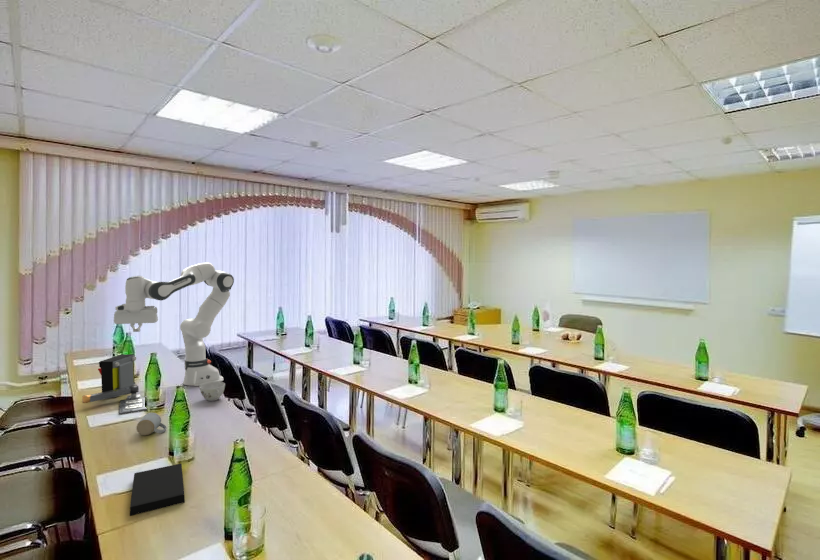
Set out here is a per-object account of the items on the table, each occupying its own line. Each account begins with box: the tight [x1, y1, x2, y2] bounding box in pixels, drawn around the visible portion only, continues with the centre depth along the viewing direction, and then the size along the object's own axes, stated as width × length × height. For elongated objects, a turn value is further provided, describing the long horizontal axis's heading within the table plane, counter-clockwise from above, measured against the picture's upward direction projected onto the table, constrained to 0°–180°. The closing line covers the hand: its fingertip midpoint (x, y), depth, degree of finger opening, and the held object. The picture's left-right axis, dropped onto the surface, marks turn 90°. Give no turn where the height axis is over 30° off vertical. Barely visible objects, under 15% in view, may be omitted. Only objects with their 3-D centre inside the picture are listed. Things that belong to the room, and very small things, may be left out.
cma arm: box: [81, 385, 139, 404], centre depth 223 cm, size 25×4×3 cm, turn 141°
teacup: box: [199, 381, 226, 402], centre depth 228 cm, size 15×12×8 cm
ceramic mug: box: [136, 412, 168, 436], centre depth 185 cm, size 11×8×8 cm
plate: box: [118, 396, 148, 415], centre depth 218 cm, size 12×22×1 cm, turn 33°
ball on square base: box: [126, 393, 141, 399], centre depth 231 cm, size 6×6×3 cm
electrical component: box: [97, 353, 138, 399], centre depth 239 cm, size 18×10×20 cm, turn 179°
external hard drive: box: [129, 463, 186, 517], centre depth 138 cm, size 14×23×3 cm, turn 30°
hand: (136, 331), depth 229 cm, fingers closed
